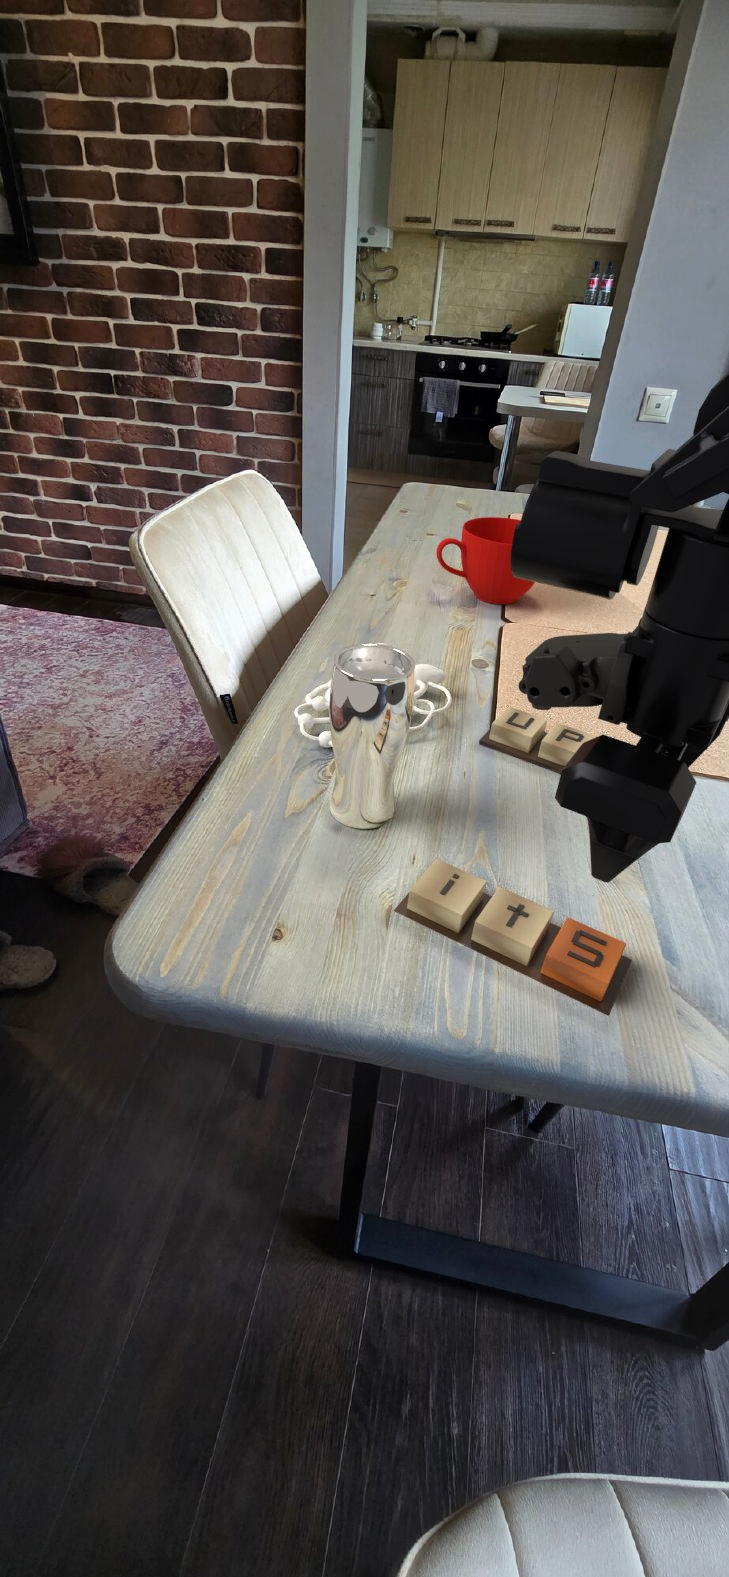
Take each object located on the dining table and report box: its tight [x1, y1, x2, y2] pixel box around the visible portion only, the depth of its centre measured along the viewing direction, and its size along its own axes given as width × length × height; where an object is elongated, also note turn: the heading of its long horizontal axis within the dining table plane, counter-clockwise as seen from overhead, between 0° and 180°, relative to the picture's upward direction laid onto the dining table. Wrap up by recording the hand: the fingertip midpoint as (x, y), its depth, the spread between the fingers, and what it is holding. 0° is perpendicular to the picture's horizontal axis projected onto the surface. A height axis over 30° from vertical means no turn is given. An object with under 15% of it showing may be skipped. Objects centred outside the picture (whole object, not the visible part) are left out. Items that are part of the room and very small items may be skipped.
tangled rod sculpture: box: [293, 642, 453, 749], centre depth 81 cm, size 19×14×4 cm
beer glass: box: [328, 642, 416, 830], centre depth 63 cm, size 7×7×15 cm
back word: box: [478, 706, 598, 775], centre depth 76 cm, size 17×6×3 cm, turn 58°
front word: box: [393, 858, 633, 1017], centre depth 55 cm, size 17×6×3 cm, turn 58°
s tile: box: [541, 916, 627, 1002], centre depth 53 cm, size 4×4×2 cm
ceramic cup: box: [435, 516, 536, 605], centre depth 109 cm, size 13×17×10 cm
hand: (621, 840), depth 49 cm, fingers open, 9 cm apart
